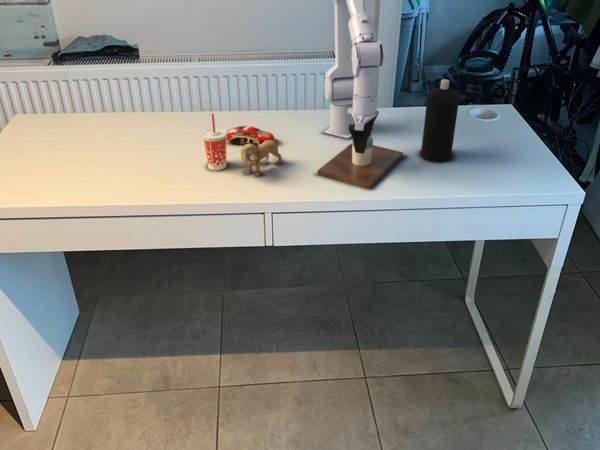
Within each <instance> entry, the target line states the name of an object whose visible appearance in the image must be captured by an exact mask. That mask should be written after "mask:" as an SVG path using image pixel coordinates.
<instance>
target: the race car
mask: <svg viewBox="0 0 600 450" xmlns="http://www.w3.org/2000/svg"><path fill="white" fill-rule="evenodd" d="M226 132H227V137H226V142H228V143H232V144H233V145H235V146H236V145H239V144H240V145H246V144H249V143H250V144H254V145H256V146H259V145H260V144H262V143H263V142H264V141H266V140H273V141H275V142H276V139H275V138H276V137H275V136H274V134H273V133H272V132H270V131H266V130H261V129H260V127H258V128H257V127H255V126H250V125H249V126H248V125H239V126H235V127H231V128H229V129H228V130H227V131H226Z"/></svg>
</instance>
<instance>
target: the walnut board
mask: <svg viewBox="0 0 600 450" xmlns="http://www.w3.org/2000/svg"><path fill="white" fill-rule="evenodd" d="M403 157H404V152H403V151H399V150H395V149H391V148H388V147H387V148H386V147H382V146H379V145H374V144H373V149H372V162H371V164H369V165H365V166H359V165H355V164H354V163H352V143H350V144H349V145H348V146H347V147H345V148H344V149H343V150H341V151H340V152H339V153H338V154H336V155H335V156H334V157H333V158H332V159H330V160H329V161H328V162H326V163H325V164H323V166H321V167H320V168H319V169H318V170H317V175H318V176H321V177H325V178H328V179H332V180H334V181H339V182H341V183H342V182H343V183H345V184H350V185H353V186H356V187H360V188H363V189H368V190H369V189H371V188H372V187H373V186H374V185H375V184H376V183H377V182H378V181H379V180H380V179H381V178H382V177H383V176H385V175H386V173H388V172H389V171H390V170H391V169H392V168H393V167H394V166H395V165H396V164H397V163H398V162H400V160H402V158H403Z"/></svg>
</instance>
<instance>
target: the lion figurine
mask: <svg viewBox="0 0 600 450" xmlns="http://www.w3.org/2000/svg"><path fill="white" fill-rule="evenodd" d="M270 154H271V155H272V156H273V157H276V158H277V160H276V164H282V155H281V153H280V152H279V147H278V144H277V142H276V140H275V141H273V140H266V141H264V142H263V143H262V144H260V145H254V144H250V143H249V144H243V146H242V147H241V149H240V157H241V160H242V162H243V164H244V165H246V167H247V170H246V172H245V173H246V174H247V175H250V174H251V173H252V171H253V169H252V168H253V166H255V176H257V177H258V176H261V175H262V174H261V164H262V165H266V164H267V163H268V161H269V159H270Z"/></svg>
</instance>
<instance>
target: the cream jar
mask: <svg viewBox="0 0 600 450" xmlns="http://www.w3.org/2000/svg"><path fill="white" fill-rule="evenodd" d="M351 144H352V163H354V164H355V165H359V166H365V165H369V164H371V162H372V149H373V145H374V139H373V137H372V136H369V137H368V140H367V145H366V149H365V152H364V154H362V153H356V152H355V148H354V142H353V138H352V140H351Z"/></svg>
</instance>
